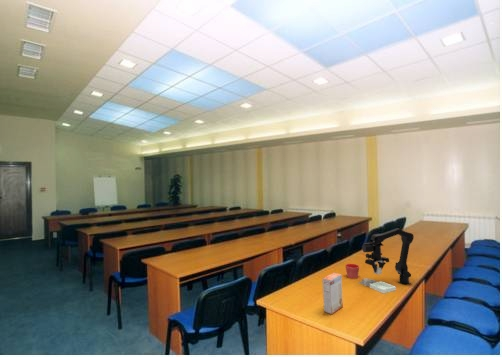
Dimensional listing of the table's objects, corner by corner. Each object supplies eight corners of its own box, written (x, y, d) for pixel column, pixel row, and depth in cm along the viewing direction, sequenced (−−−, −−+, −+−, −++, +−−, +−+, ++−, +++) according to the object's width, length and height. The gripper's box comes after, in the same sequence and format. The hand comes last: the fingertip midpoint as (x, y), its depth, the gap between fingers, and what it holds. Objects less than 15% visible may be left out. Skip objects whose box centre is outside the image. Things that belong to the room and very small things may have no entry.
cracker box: (334, 304, 175) (333, 272, 175) (343, 307, 170) (342, 274, 171) (323, 311, 165) (321, 277, 166) (332, 315, 161) (330, 280, 161)
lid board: (370, 279, 217) (370, 278, 217) (381, 283, 206) (381, 282, 206) (356, 282, 211) (356, 280, 211) (367, 287, 201) (367, 285, 201)
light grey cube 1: (376, 272, 207) (376, 266, 207) (381, 273, 204) (381, 267, 204) (373, 273, 205) (373, 267, 205) (378, 274, 202) (378, 268, 202)
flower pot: (351, 280, 216) (350, 268, 216) (343, 276, 226) (342, 264, 226) (362, 278, 218) (362, 266, 219) (353, 274, 229) (353, 263, 229)
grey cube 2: (368, 283, 206) (367, 278, 206) (371, 285, 202) (370, 280, 202) (363, 284, 206) (363, 278, 206) (366, 286, 202) (366, 280, 202)
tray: (381, 285, 204) (381, 281, 204) (395, 290, 193) (395, 286, 193) (369, 288, 199) (369, 283, 199) (383, 294, 188) (383, 289, 188)
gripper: (377, 247, 216) (378, 267, 215) (359, 250, 209) (360, 270, 209) (389, 251, 205) (390, 271, 205) (370, 254, 199) (371, 275, 198)
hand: (377, 272), depth 204 cm, fingers closed on light grey cube 1, 4 cm apart
